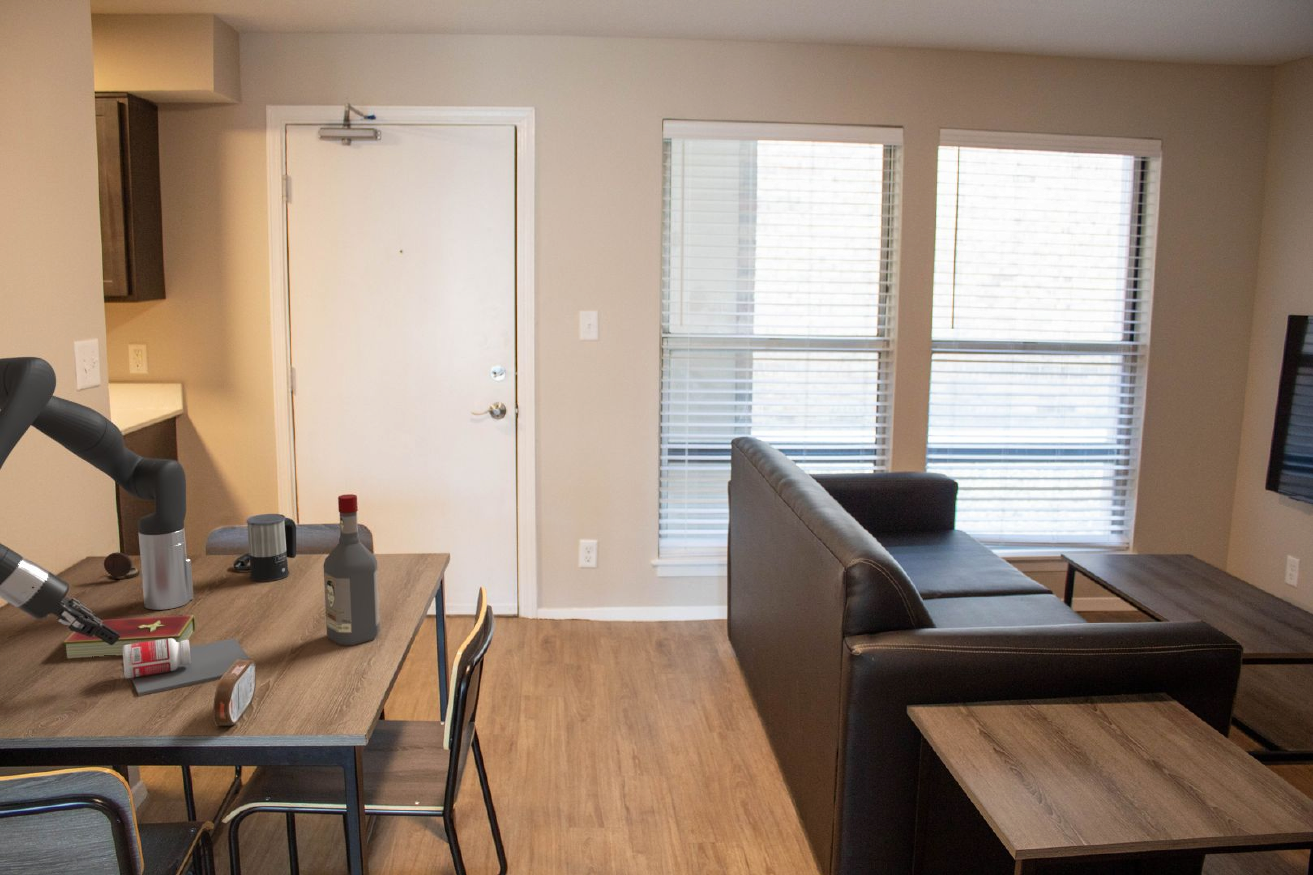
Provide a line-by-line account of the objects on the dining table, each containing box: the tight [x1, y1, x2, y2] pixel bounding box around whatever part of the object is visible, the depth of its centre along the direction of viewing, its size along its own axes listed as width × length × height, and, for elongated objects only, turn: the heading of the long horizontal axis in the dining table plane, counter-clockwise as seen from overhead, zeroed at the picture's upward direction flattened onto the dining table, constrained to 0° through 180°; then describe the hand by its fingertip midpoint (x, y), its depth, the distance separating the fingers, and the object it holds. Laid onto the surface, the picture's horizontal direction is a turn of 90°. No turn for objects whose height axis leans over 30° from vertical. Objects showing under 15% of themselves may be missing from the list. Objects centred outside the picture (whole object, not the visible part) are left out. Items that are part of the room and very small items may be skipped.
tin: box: [213, 659, 257, 727], centre depth 169 cm, size 15×3×8 cm, turn 5°
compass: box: [103, 550, 140, 580], centre depth 240 cm, size 8×8×7 cm
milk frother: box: [233, 513, 297, 583], centre depth 244 cm, size 14×16×15 cm
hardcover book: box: [62, 614, 196, 659], centre depth 199 cm, size 12×21×4 cm, turn 101°
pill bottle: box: [122, 638, 191, 679], centre depth 184 cm, size 6×6×11 cm
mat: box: [131, 637, 251, 697], centre depth 189 cm, size 20×18×1 cm
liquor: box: [323, 493, 381, 647], centre depth 202 cm, size 9×9×30 cm
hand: (116, 639), depth 181 cm, fingers closed
